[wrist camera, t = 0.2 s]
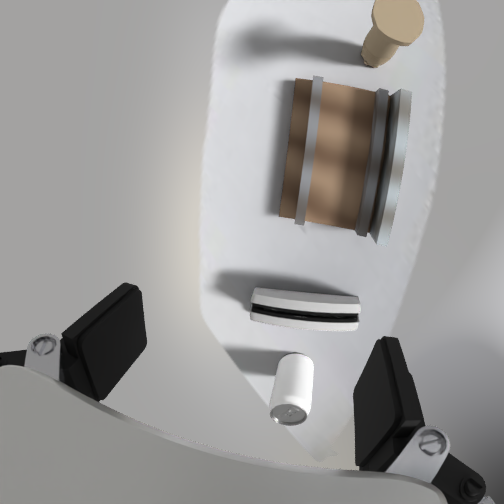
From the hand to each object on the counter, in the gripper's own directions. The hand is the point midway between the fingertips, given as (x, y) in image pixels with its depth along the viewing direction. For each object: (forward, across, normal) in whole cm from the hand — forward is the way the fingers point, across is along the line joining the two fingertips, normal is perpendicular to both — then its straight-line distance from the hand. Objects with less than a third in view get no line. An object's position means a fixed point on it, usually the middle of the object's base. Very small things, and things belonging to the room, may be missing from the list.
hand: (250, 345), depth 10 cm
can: (+31, -5, +29) cm, 43 cm away
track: (+31, -5, -7) cm, 32 cm away
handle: (+31, -8, -22) cm, 39 cm away
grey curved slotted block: (+31, -4, +15) cm, 35 cm away
